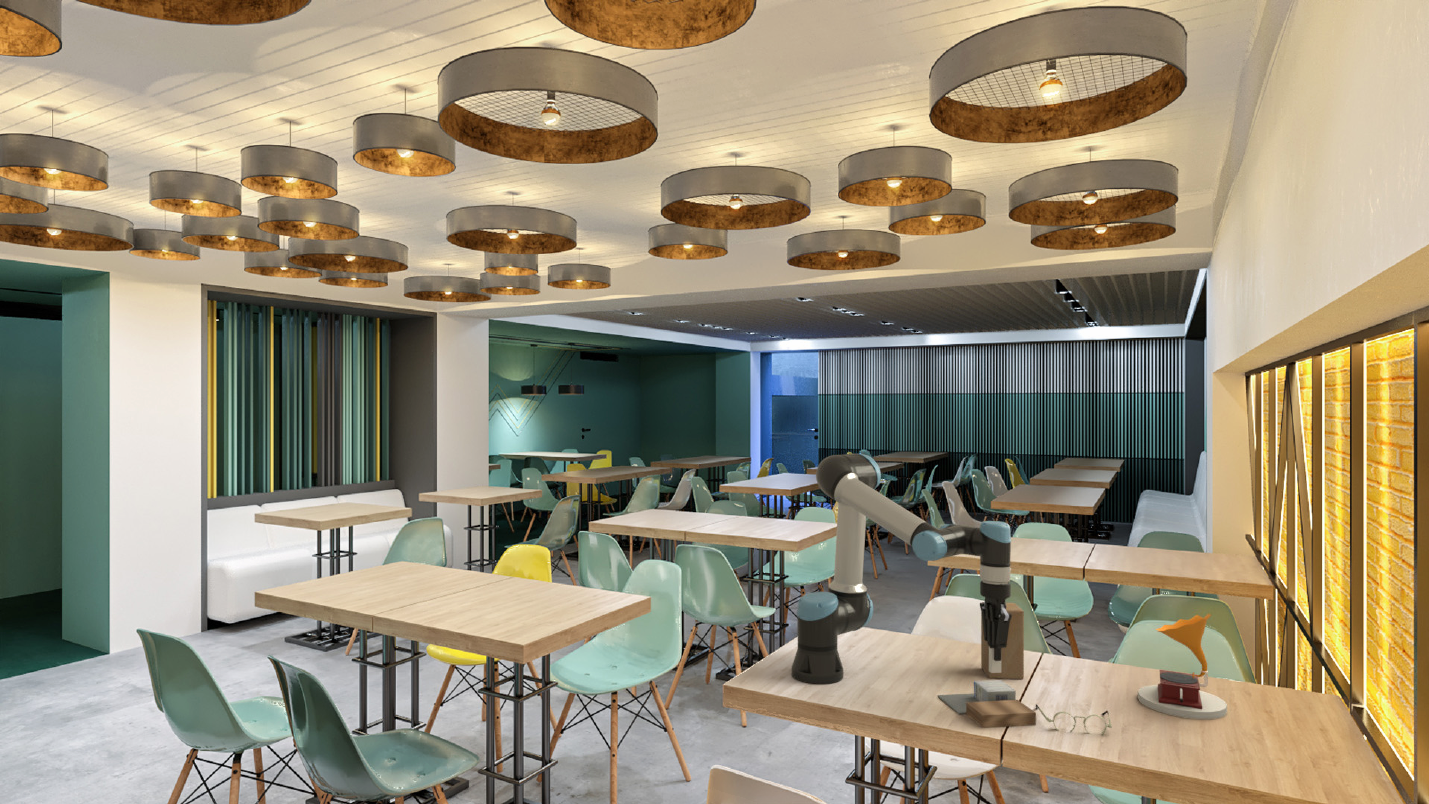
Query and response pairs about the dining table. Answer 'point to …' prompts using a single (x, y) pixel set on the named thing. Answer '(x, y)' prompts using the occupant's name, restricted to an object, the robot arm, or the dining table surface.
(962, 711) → the mat
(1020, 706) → the brown wooden flat block
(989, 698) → the medicine box
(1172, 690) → the gramophone
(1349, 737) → the dining table surface
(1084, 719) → the round eyeglasses
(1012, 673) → the wooden block
